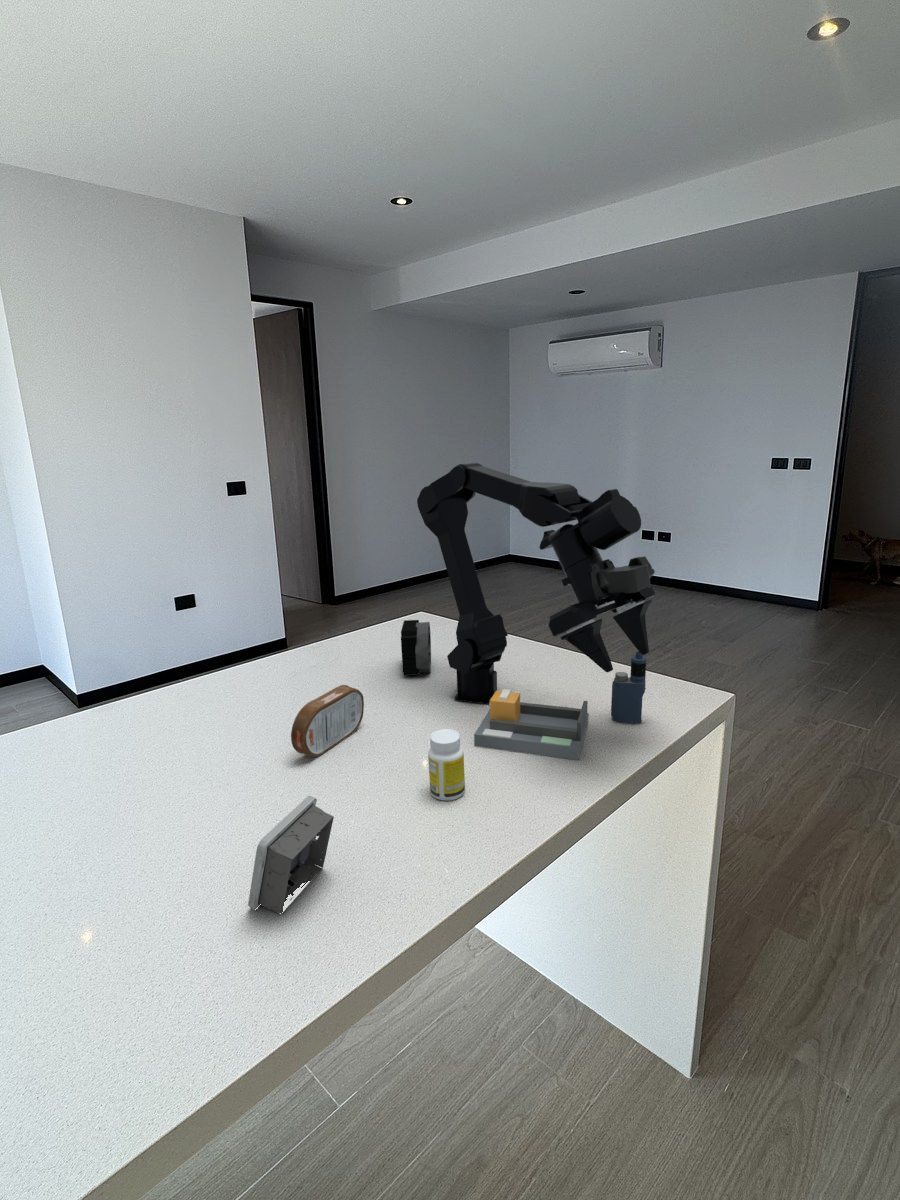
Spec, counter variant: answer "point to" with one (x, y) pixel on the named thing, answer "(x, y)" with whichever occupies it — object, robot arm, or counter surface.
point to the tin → (327, 720)
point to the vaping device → (629, 692)
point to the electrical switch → (290, 855)
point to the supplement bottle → (446, 765)
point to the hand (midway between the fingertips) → (628, 662)
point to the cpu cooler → (416, 647)
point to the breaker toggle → (505, 705)
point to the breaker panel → (537, 731)
